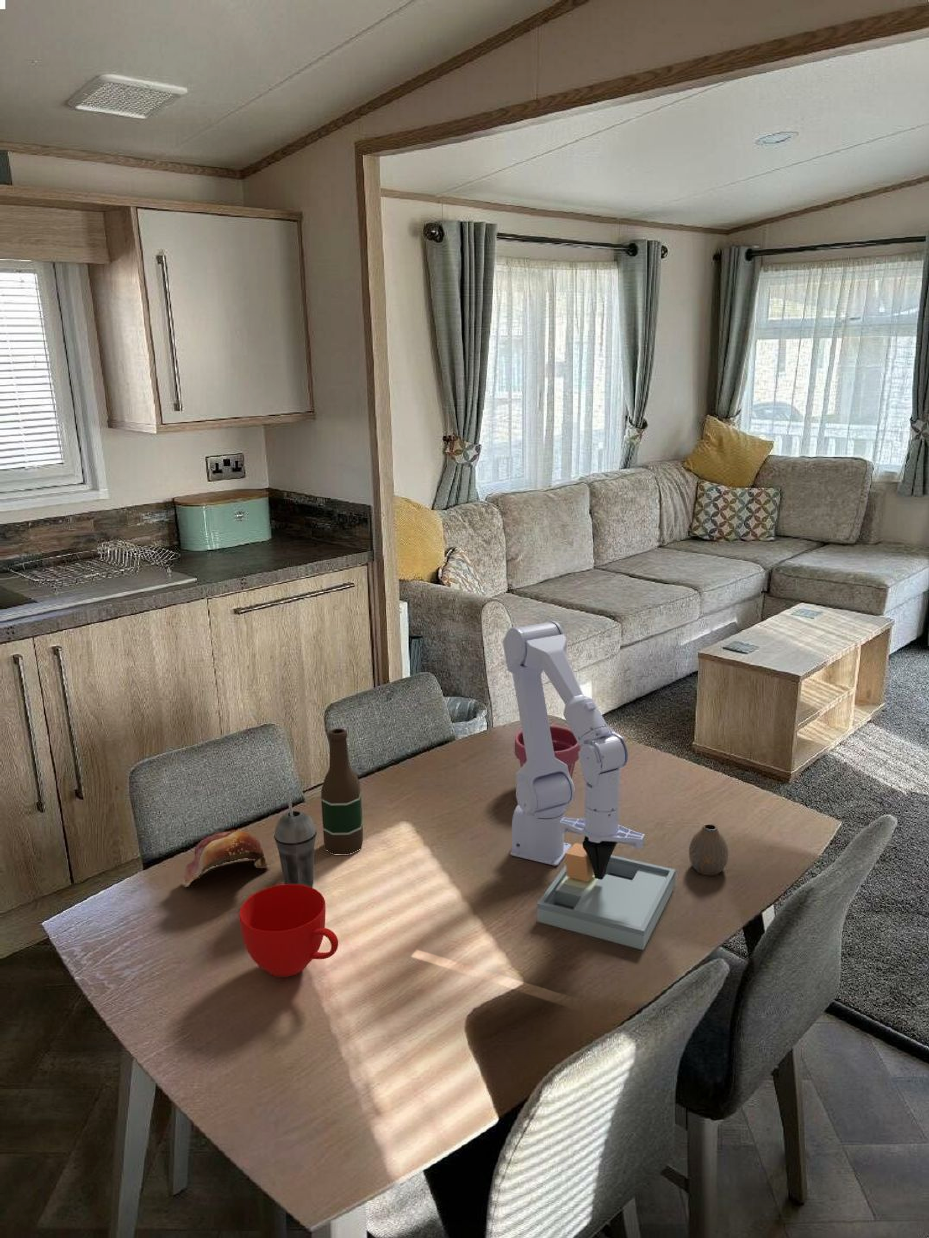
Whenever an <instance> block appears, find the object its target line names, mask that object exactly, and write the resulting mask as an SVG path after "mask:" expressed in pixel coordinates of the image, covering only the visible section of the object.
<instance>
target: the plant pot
mask: <svg viewBox="0 0 929 1238" xmlns="http://www.w3.org/2000/svg"><path fill="white" fill-rule="evenodd" d="M549 726H550V732H551V738H552V744H553V750H554V756H555V758H556V759H558V760H560V761H562V762H563V763H565V764H566V765H567V766H568V771H569V774H570V777H571V779H572V780H573V774H574V770H575V765H576V762H577V761H578V760H579V756H578V751H579V752H580V746H579V744H578V742H577V740H576V738H575V736H574V734H573V733H572V731H571V729H570V728H565V727H562V726H556V725H549ZM514 756H515V757H516V759H518V761H519V764H520V765H519V766H520V768H521V767H522V766H523V765H524V764H525V763H526V761H527V757H526V751H525V745H524V739H523V733H522V729H521V730H520V731H518V732H517V733H516V735H515V737H514ZM550 774H551V773H550ZM547 775H548V774H547ZM543 776H544V775H543ZM539 777H540V776H539Z"/></svg>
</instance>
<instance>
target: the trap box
mask: <svg viewBox="0 0 929 1238" xmlns="http://www.w3.org/2000/svg"><path fill="white" fill-rule="evenodd" d="M676 872H677V871H676V869H675V868H671V867H666V866H661V865H658V864H653V863H648V862H646V861H645V862H644V861H641V860H640V861H639V860H635V859H632V858H627V857H622V856H617V855H613V854H611V857H610V859H609V862H608V866H607V870H606V875H605V876H604V878H603V879H602V880H600V879H596V878H595V877H594V875H593V876H592V877H591V878H590V879H589V881H583V880H579V879H575V878H571V877H567V872H566V864H565V865H564V866H563V868H562V869H561V870H560V872H559V873H558V875H557V876H556V877H555V878H554V880H553V881H552V883H551V884H550V885H549V887H548V888H547V889H546V891H545V892H544V893H543V895H542V896H541V898H540V899H539V900H538V901H537V903H536V907H537V908H536V909H537V912H536V922H537V923H542V924H545V925H549V926H552V927H556V928H560V929H563V930H564V929H565V930H568V931H572V932H575V933H579V934H581V935H586V936H589V937H592V938H593V937H594V938H597V939H602V940H604V941H609V942H612V943H615V944H620V945H623V946H627V947H630V948H635V949H638V950H642V951H644V949H645V948H646V947H647V944H648V941H649V939H650V937H651V935H652V933H653V932H654V930H655V927H656V926H657V923H658V921H659V920H660V917H661V915H662V913H664V909H665V908H666V905H667V903H668V901H669V899H670V898H671V896H672V895H671V894H672V893H673V891H674V889H675V887H676Z"/></svg>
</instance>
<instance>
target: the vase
mask: <svg viewBox="0 0 929 1238" xmlns="http://www.w3.org/2000/svg"><path fill="white" fill-rule="evenodd" d="M688 857H689V863H690V864H691V866H692V867H693V869H695V871H696V872H697V873H699V874H700V875H704V876H710V877H711V876H716V875H718V874H720V873H721V872H722V871H723V870H725V868H726V866H727V863H728V860H729V847H728V844H727V841H726V839H725V837H724V836H723V835H722V834H721V832H720V831H719V829H718V826H717V825H716V824H713V823H705V824H703V826H702V827H701V829H700V830H699V831H698V832H697V833H696V834H695V835H694V836H693V837H692V838H691V841H690V843H689V846H688Z"/></svg>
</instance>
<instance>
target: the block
mask: <svg viewBox="0 0 929 1238" xmlns="http://www.w3.org/2000/svg"><path fill="white" fill-rule="evenodd" d="M564 857H565V865H566V872H567V877H571V878H575V879H579V880H583V881H589V879H590V878H591V877H592V876H593V875H594V872H593V868H592V864H591V862H590V859H589V857H588V855H587V853H586V851H585V850H584V848H583V845H582V843H577V842H575V843H574V844H573V845H571V848H570V849H569V850H568V851H567V852H566V853H565V856H564Z"/></svg>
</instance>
